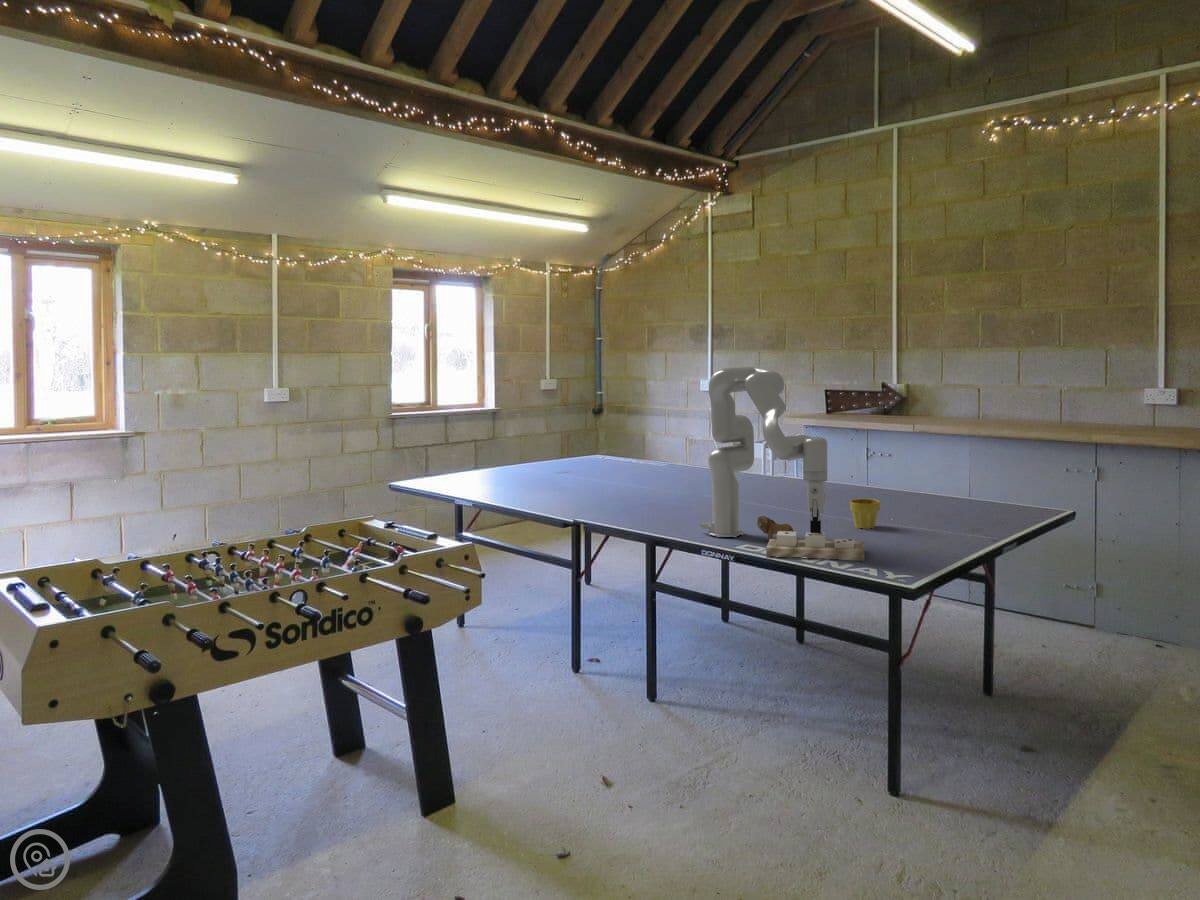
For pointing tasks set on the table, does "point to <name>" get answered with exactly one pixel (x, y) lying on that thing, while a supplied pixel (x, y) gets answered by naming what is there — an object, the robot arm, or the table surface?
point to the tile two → (815, 539)
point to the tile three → (844, 543)
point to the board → (816, 551)
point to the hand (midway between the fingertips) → (815, 532)
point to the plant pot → (864, 512)
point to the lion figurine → (771, 526)
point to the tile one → (786, 538)
